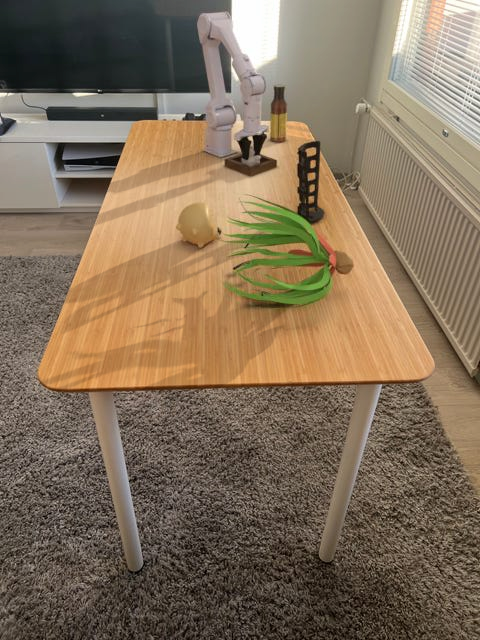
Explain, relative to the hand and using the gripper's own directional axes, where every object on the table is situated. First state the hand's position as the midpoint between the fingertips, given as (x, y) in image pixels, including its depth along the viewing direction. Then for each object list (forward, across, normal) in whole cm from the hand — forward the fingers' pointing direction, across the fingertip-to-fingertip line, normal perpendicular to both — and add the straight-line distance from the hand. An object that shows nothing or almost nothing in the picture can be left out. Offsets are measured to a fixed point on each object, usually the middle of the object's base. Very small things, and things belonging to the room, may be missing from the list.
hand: (251, 157), depth 175 cm
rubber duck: (+3, 0, 0) cm, 3 cm away
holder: (+4, -15, -38) cm, 41 cm away
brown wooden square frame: (+3, 0, 0) cm, 3 cm away
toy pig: (+3, -48, -29) cm, 56 cm away
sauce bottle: (+3, +28, +13) cm, 31 cm away
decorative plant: (+4, -51, -60) cm, 79 cm away
